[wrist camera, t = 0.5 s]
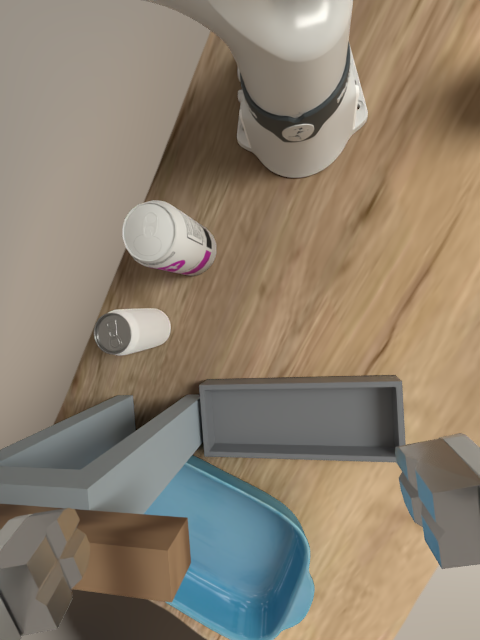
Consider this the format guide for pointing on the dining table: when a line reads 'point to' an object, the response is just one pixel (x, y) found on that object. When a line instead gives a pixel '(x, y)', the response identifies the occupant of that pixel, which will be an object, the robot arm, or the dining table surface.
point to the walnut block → (127, 551)
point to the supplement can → (168, 239)
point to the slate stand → (102, 458)
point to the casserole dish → (238, 554)
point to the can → (131, 330)
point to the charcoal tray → (304, 418)
